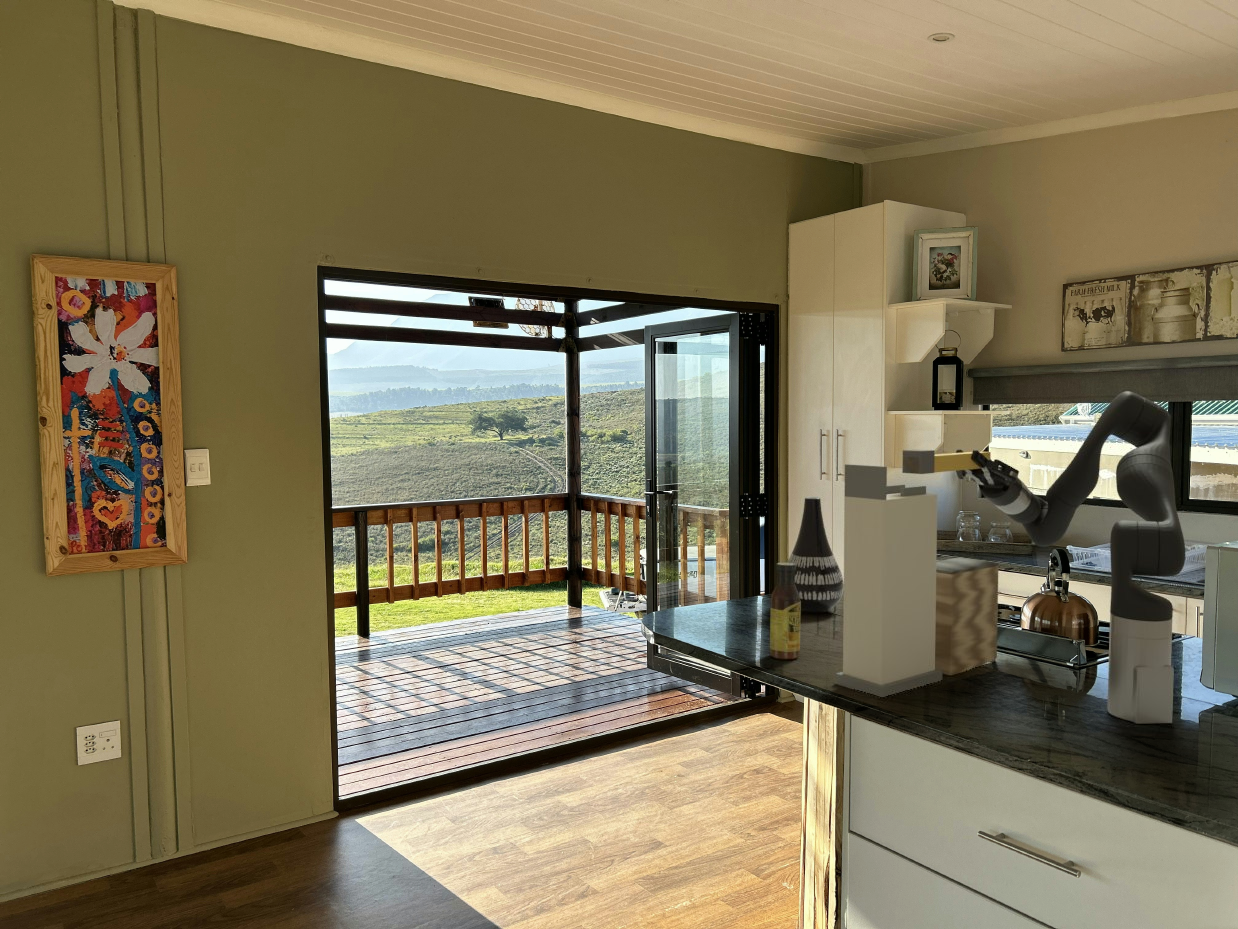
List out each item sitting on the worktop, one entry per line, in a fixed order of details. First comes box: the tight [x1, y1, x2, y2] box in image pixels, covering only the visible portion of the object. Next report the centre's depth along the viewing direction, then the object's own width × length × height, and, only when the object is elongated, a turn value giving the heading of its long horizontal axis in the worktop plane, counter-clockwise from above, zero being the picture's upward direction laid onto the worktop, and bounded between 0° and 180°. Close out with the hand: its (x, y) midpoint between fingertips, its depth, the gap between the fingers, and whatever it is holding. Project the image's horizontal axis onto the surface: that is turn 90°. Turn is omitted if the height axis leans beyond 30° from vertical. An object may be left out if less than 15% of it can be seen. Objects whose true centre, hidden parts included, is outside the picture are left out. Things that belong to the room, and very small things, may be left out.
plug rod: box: [901, 449, 992, 475], centre depth 185 cm, size 24×4×4 cm, turn 126°
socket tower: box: [834, 463, 943, 698], centre depth 176 cm, size 18×11×42 cm, turn 126°
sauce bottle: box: [769, 562, 801, 660], centre depth 195 cm, size 6×6×20 cm
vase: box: [786, 496, 844, 615], centre depth 237 cm, size 16×16×30 cm
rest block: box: [935, 557, 1000, 676], centre depth 189 cm, size 16×9×21 cm, turn 126°
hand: (965, 453), depth 189 cm, fingers closed on plug rod, 3 cm apart
